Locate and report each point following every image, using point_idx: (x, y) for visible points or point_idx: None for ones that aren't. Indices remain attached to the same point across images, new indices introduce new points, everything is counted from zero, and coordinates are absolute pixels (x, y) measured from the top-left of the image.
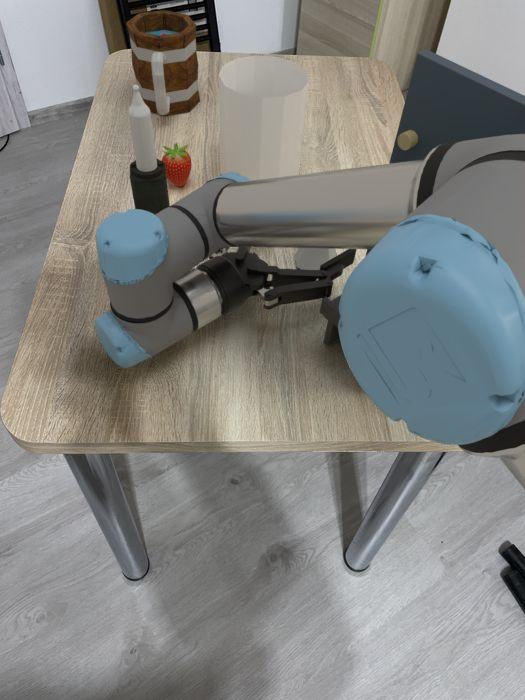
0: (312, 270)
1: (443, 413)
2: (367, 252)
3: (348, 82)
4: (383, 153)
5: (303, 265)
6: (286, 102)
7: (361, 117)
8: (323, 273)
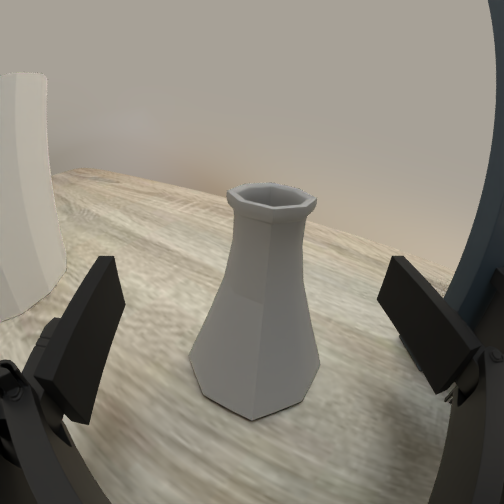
0: (488, 382)
1: None
2: (497, 221)
3: (65, 180)
4: (142, 194)
5: (270, 403)
6: (19, 85)
7: (93, 187)
8: (501, 355)
